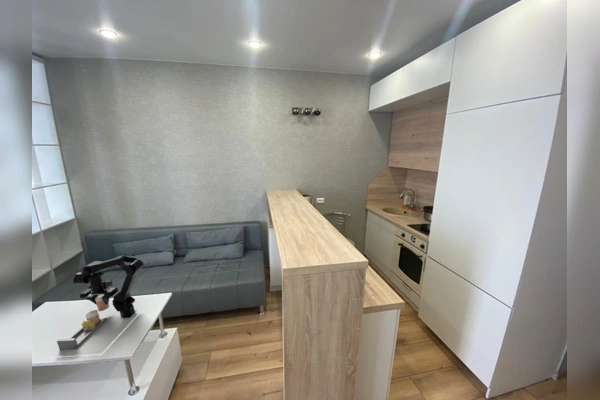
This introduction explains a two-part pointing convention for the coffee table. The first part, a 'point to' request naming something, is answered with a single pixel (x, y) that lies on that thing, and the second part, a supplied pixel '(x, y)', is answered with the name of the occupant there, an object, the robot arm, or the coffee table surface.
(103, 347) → the coffee table surface
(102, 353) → the coffee table surface
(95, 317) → the jar
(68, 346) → the tray
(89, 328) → the yellow lumpy piece
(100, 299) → the jar
